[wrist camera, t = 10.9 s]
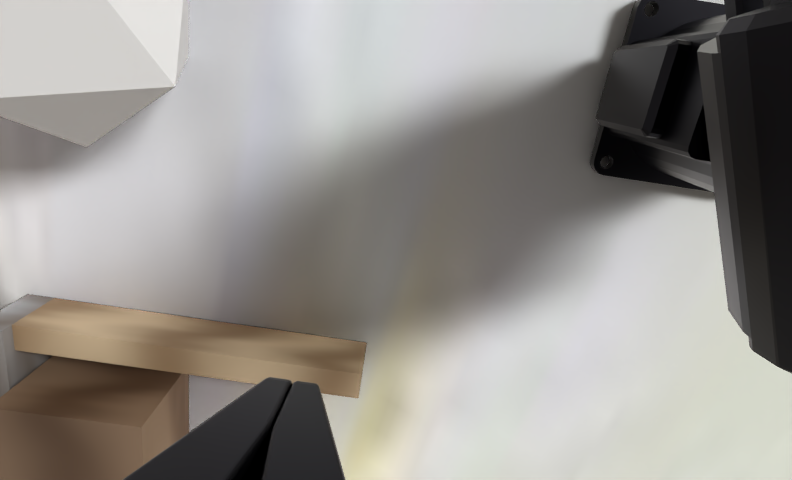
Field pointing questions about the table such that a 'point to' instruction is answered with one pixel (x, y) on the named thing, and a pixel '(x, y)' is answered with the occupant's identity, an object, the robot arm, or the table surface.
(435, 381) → the table surface
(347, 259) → the table surface
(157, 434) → the walnut block
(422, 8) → the table surface
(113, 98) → the die
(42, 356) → the tunnel
